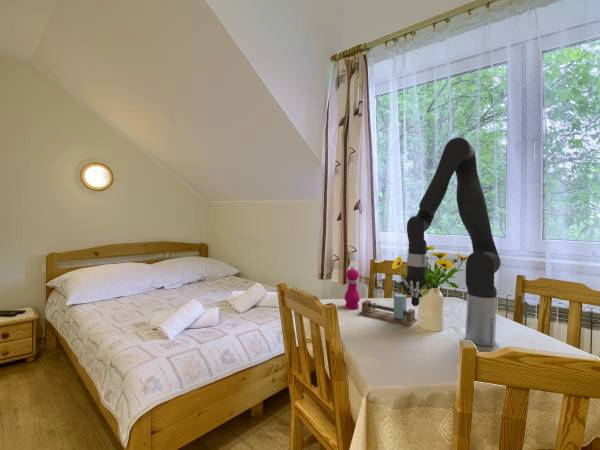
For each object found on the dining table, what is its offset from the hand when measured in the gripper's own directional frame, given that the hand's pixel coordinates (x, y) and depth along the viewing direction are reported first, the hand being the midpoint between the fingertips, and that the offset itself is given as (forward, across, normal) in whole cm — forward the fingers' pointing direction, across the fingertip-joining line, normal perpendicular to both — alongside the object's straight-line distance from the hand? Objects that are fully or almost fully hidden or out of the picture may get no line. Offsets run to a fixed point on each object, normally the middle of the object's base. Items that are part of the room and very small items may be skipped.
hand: (415, 305), depth 134 cm
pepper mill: (+8, +31, -3) cm, 32 cm away
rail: (+8, +12, 0) cm, 14 cm away
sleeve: (+6, +6, 0) cm, 9 cm away
